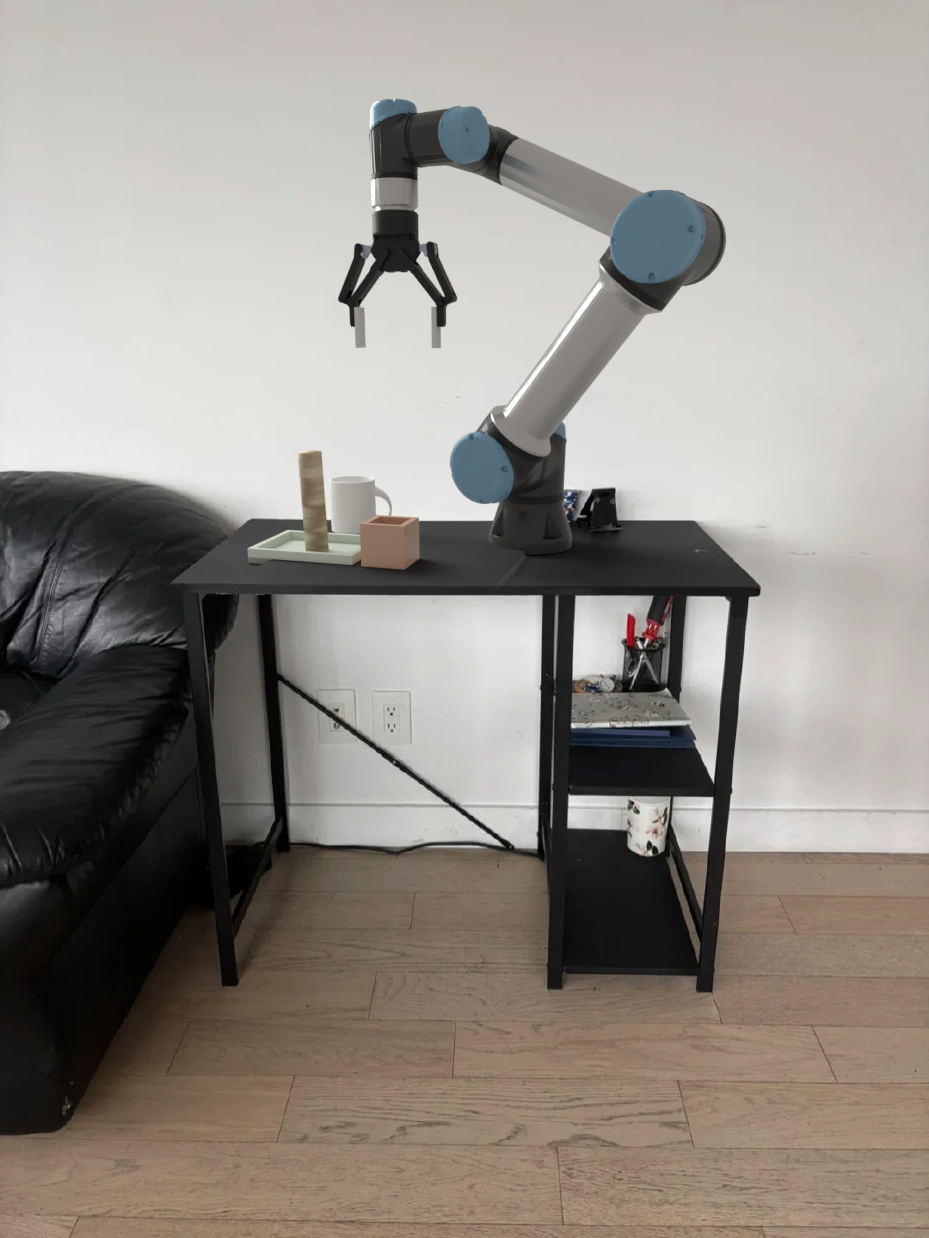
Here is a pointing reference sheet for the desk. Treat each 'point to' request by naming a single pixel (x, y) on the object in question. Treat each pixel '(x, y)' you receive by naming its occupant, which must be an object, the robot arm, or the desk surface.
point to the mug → (353, 502)
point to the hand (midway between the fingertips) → (398, 348)
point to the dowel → (313, 501)
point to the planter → (389, 541)
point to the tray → (293, 549)
